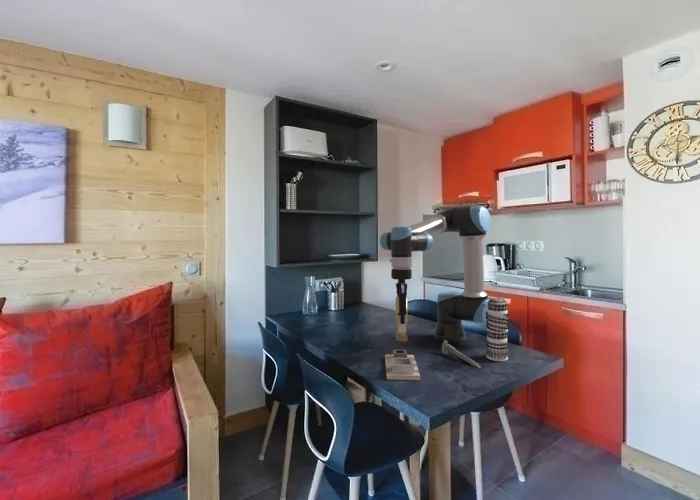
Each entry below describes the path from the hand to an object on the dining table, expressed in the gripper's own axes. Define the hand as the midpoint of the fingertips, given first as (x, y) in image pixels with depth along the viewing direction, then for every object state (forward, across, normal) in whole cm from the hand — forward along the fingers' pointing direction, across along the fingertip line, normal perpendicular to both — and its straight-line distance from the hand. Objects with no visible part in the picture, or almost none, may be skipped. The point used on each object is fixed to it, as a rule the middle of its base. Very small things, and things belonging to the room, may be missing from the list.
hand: (401, 330), depth 132 cm
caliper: (+17, -15, +25) cm, 34 cm away
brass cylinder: (+4, 0, 0) cm, 4 cm away
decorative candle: (+17, -18, +41) cm, 48 cm away
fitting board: (+17, -5, 0) cm, 17 cm away
